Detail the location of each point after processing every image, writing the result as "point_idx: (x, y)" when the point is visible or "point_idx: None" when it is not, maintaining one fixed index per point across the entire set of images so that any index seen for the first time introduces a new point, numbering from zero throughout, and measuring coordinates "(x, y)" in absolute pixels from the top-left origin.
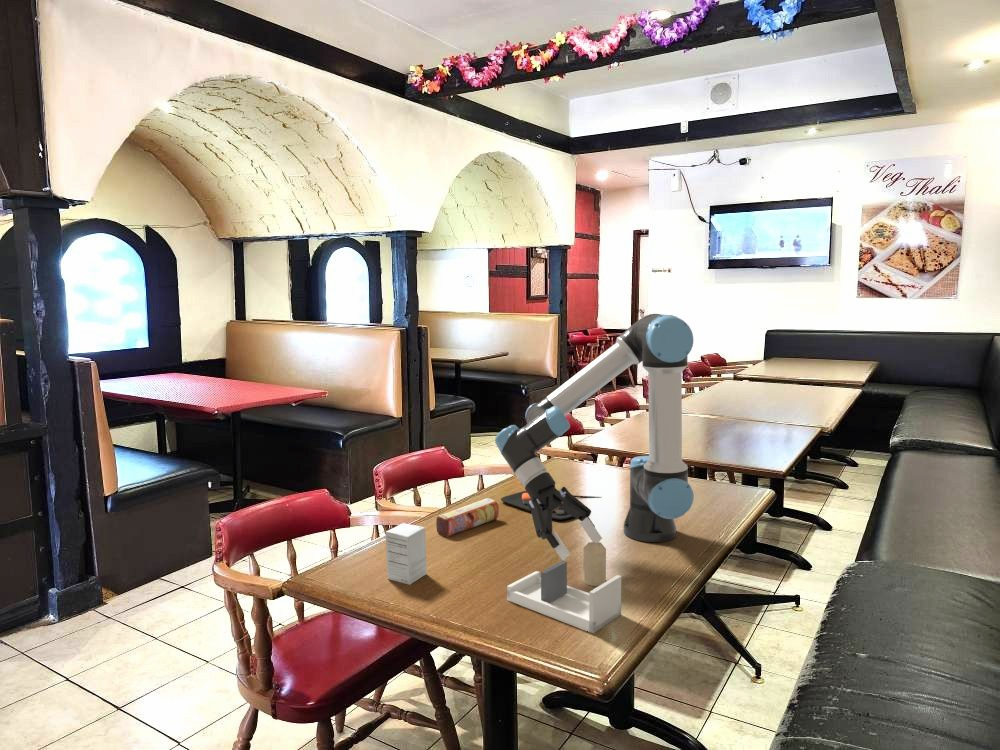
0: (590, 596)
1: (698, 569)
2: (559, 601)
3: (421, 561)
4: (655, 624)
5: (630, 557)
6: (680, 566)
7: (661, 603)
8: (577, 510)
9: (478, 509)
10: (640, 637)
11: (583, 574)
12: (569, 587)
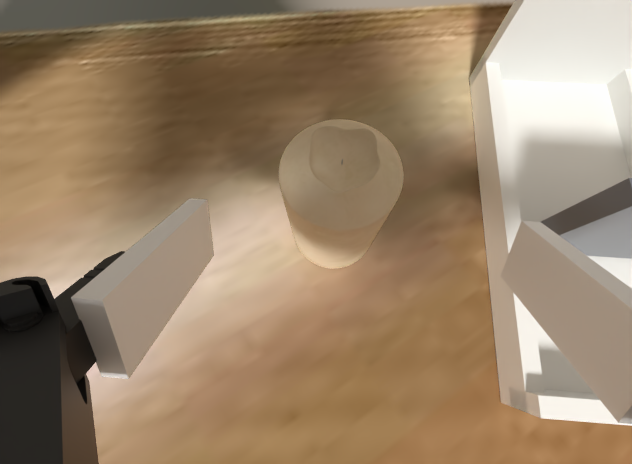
0: None
1: (80, 38)
2: None
3: None
4: (450, 7)
5: (67, 228)
6: (79, 79)
7: (342, 33)
8: (50, 422)
9: None
10: None
11: (362, 253)
12: (513, 224)
